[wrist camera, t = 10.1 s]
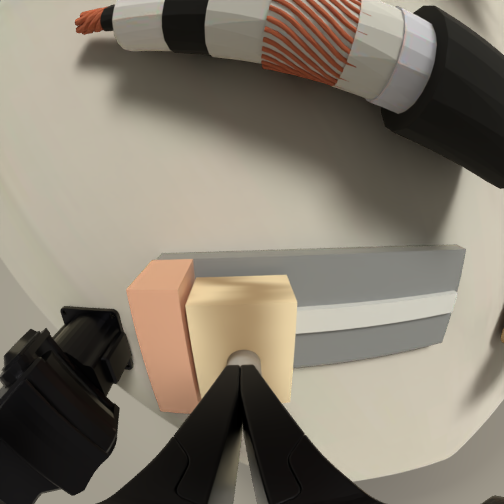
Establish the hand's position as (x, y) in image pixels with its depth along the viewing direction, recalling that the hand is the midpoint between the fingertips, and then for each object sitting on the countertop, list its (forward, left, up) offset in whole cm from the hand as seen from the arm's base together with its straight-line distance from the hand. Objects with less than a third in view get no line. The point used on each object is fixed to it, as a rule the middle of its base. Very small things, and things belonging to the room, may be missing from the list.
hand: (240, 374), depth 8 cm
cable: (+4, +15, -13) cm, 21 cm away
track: (+7, -5, -13) cm, 16 cm away
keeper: (0, -5, -11) cm, 12 cm away
